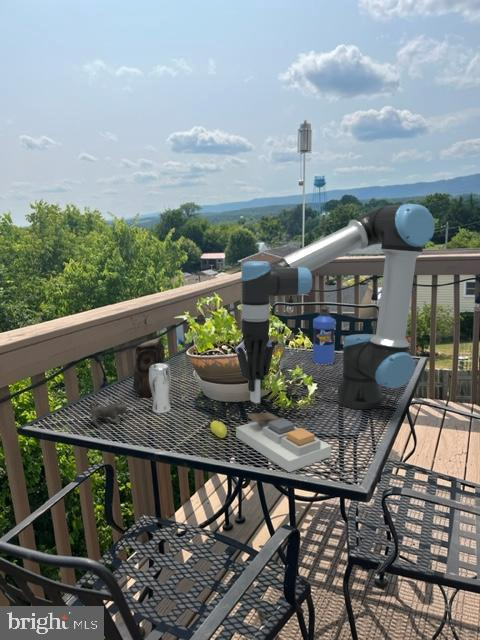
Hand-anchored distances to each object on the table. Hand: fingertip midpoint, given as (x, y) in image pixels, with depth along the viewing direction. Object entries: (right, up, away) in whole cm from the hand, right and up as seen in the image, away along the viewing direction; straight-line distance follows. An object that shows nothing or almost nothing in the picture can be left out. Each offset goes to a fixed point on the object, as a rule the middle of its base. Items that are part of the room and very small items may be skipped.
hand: (255, 401), depth 133 cm
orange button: (+11, -9, -10) cm, 18 cm away
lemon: (-10, -11, +5) cm, 16 cm away
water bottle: (+32, +4, +72) cm, 79 cm away
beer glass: (-30, -7, +24) cm, 39 cm away
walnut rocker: (+3, -6, +3) cm, 7 cm away
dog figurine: (-44, -9, +15) cm, 48 cm away
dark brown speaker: (-38, -4, +41) cm, 56 cm away
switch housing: (+7, -12, -3) cm, 14 cm away
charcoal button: (+7, -8, -4) cm, 11 cm away
